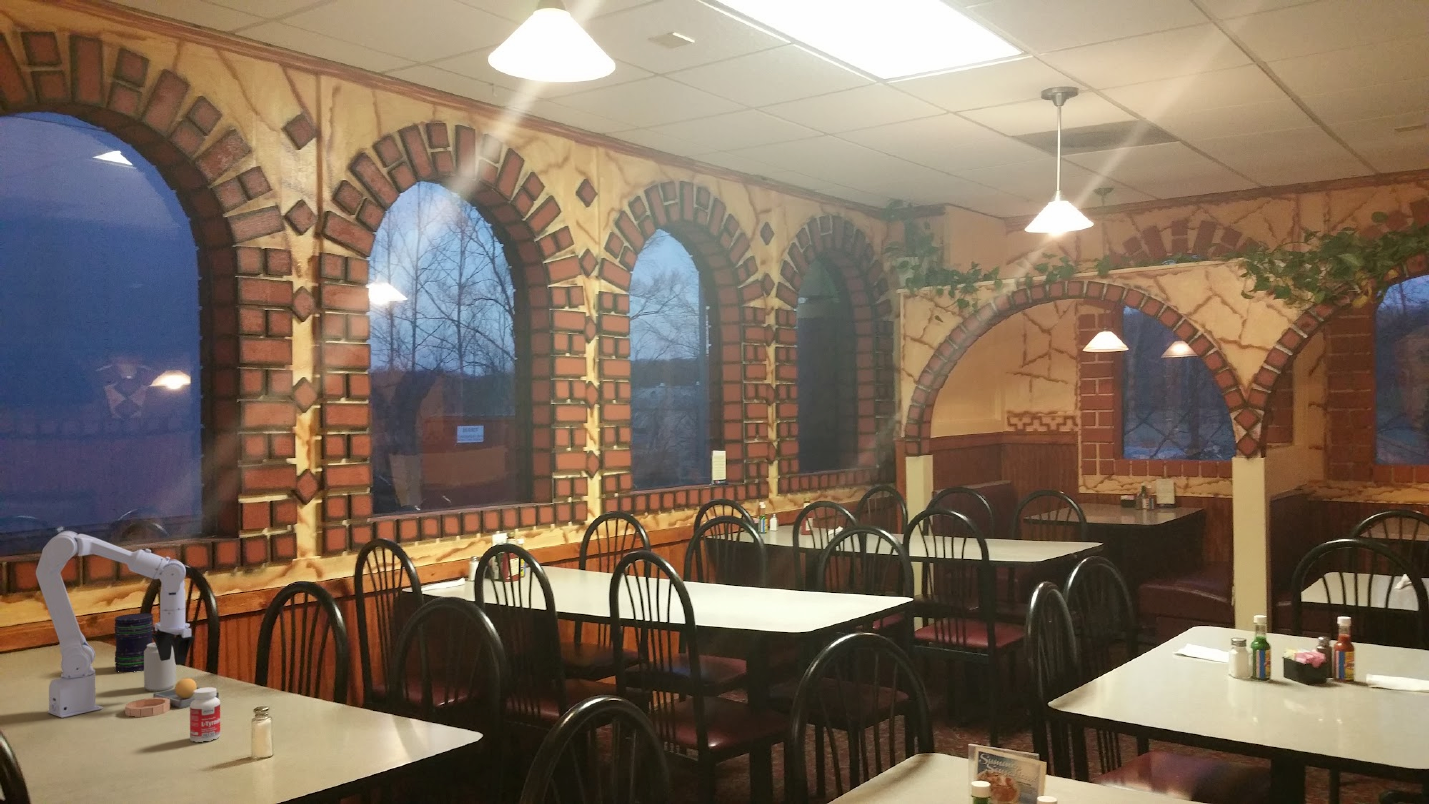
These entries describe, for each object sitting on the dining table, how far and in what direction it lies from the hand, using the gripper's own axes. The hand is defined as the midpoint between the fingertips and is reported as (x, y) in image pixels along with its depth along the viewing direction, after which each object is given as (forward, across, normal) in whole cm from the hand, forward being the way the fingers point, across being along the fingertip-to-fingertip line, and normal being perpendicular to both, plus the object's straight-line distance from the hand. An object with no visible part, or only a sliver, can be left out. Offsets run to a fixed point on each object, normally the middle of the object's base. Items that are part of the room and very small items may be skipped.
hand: (172, 662), depth 273 cm
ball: (+7, -3, -2) cm, 7 cm away
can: (+10, +14, -4) cm, 18 cm away
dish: (+10, -5, +8) cm, 14 cm away
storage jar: (+10, +42, -10) cm, 45 cm away
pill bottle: (+10, -38, +12) cm, 41 cm away
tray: (+10, -2, -2) cm, 10 cm away
